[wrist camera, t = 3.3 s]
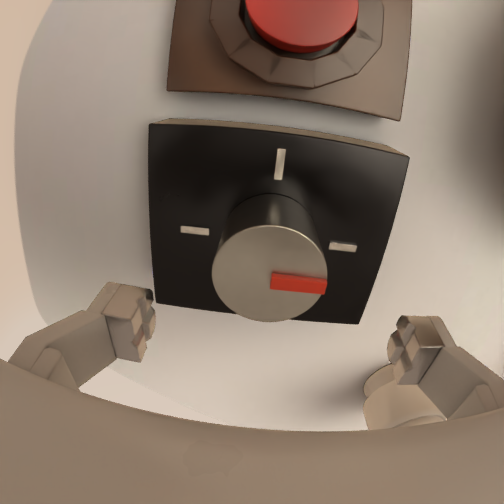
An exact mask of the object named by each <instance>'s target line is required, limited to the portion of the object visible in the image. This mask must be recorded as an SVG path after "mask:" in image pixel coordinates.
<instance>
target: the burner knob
mask: <svg viewBox="0 0 504 504" xmlns="http://www.w3.org/2000/svg"><path fill="white" fill-rule="evenodd" d="M212 280H213V285H214V287H215V290H216V292H217V294H218V296H219V297H220V299H221V300H222V301H223V302H224V303H225V305H226V306H228V307H229V308H230V309H231V310H232V311H234V312H236V313H237V314H239V315H241V316H243V317H246V318H248V319H252V320H256V321H262V322H278V321H284V320H288V319H291V318H294V317H296V316H298V315H300V314H302V313H304V312H305V311H307V310H308V309H309V308H311V307H312V306H313V305H314V304H315V303H316V302H317V300H318V299H319V297H320V296H321V294H323V295H324V294H325V290H326V287H327V265H326V261H325V258H324V255H323V251H322V248H321V245H320V241H319V238H318V235H317V232H316V228H315V225H314V222H313V220H312V218H311V216H310V215H309V213H308V212H307V211H306V209H305V208H304V207H303V206H301V205H300V204H299V203H297V202H296V201H294V200H292V199H290V198H288V197H285V196H282V195H276V194H264V195H258V196H255V197H252V198H249V199H247V200H245V201H244V202H242V203H241V204H239V205H238V206H237V207H236V208H235V209H234V210H233V211H232V212H231V214H230V216H229V217H228V219H227V221H226V224H225V227H224V230H223V233H222V236H221V239H220V242H219V246H218V249H217V252H216V255H215V258H214V261H213V265H212Z"/></svg>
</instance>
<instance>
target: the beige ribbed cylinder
mask: <svg viewBox="0 0 504 504" xmlns="http://www.w3.org/2000/svg"><path fill="white" fill-rule="evenodd" d="M394 366H395V365H394V364H390V365H388V366H385V367H383V368H381V369H380V370H378V371H376V372H375V373H374V374H373V375H371V376H370V377H369V379H368V380H367V381H366V382H365V385H364V390H363V391H364V393H365V395H366V396H367V397H368V398H367V400H366V401H365V403H364V405H363V413H364V416H365V419H366V423H367V426H368V429H369V430H376V429H388V428H398V427H407V426H415V425H422V424H429V423H435V422H441V421H446V417H445V416H444V415H443V414H442V413H441V411H440V410H439V409H438V408H437V407H436V406H435V405H434V404H433V402H432V401H431V400H430V399H429V398H428V397H427V396H426V395H425V393H424V392H423V391H422V390H421V389H420V388H419V387H418V386H417V385H418V384H417V385H397V383H396V380H395V376H394V373H393V368H394Z"/></svg>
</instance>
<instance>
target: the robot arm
mask: <svg viewBox="0 0 504 504" xmlns="http://www.w3.org/2000/svg"><path fill="white" fill-rule="evenodd" d="M153 300H154V299H153V292H152V290H151V289H147V288H141V287H136V286H130V285H125V284H119V283H114V282H108V283H106V284H105V286H104V287H103V288H102V290H101V291H100V292H99V294H98V295H97V297H96V298H95V299H94V301H93V302H92V303H91V305H90V306H89V307H88V309H87V310H86V311H84V310H81V311H79V312H77V313H75V314H73V315H71V316H69V317H67V318H65V319H62V320H60V321H58V322H56V323H54V324H52V325H50V326H48V327H46V328H44V329H42V330H39V331H37V332H36V333H33V334H31V335H29V336H27V337H26V338H25V339H24V340H23V342H22V343H21V344H20V346H19V347H18V348H17V350H16V351H15V352H14V354H13V355H12V356H11V358H10V359H9V361H8V362H6V361H4V360H2V359H0V504H504V380H503V379H502V378H500V377H499V376H498V375H497V374H495V373H494V372H493V371H491V370H490V369H489V368H488V367H486V366H485V365H484V364H482V363H481V362H480V361H478V360H477V359H476V358H474V357H473V356H472V355H471V354H469V353H468V352H467V351H465V350H464V349H463V348H461V347H457V346H456V344H455V342H454V340H453V339H452V337H451V335H450V333H449V331H448V330H447V328H446V326H445V324H444V323H443V321H442V319H441V318H440V317H438V316H404V315H402V316H401V317H400V318H399V320H398V322H397V324H396V326H397V329H398V330H396V331H395V332H394V333H393V334H391V336H390V339H389V341H388V346H387V354H388V358H389V361H390V362H391V363H393V364H394V365H395V366H394V368H393V373H394V376H395V380H396V383H397V385H417V384H418V385H417V386H418V387H419V388H420V389H421V390H422V391H423V392H424V393H425V395H426V396H427V397H428V398H429V399H430V400H431V401H432V402H433V404H434V405H435V406H436V407H437V408H438V409H439V410H440V411H441V413H442V414H443V415H444V416H445V417H446V418H447V421H441V422H435V423H429V424H422V425H415V426H407V427H398V428H388V429H376V430H360V431H325V432H321V431H284V430H268V429H256V428H246V427H236V426H228V425H220V424H213V423H207V422H200V421H194V420H188V419H183V418H178V417H173V416H168V415H163V414H158V413H154V412H149V411H145V410H141V409H137V408H133V407H129V406H126V405H122V404H118V403H115V402H111V401H108V400H104V399H101V398H98V397H95V396H91V395H88V394H85V393H82V392H80V390H79V387H80V386H81V385H82V384H84V383H85V382H87V381H88V380H89V379H91V378H92V377H93V376H95V375H96V374H97V373H98V372H100V371H101V370H103V369H104V368H105V367H107V366H108V365H109V364H111V363H112V362H113V361H115V360H116V358H120V359H125V360H130V361H135V362H140V363H141V360H142V358H143V356H144V353H145V351H146V349H147V345H146V341H147V340H149V339H151V337H152V335H153V332H154V328H155V322H156V315H155V310H154V309H153V308H152V307H151V304H152V302H153Z"/></svg>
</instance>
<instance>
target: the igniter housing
mask: <svg viewBox="0 0 504 504" xmlns="http://www.w3.org/2000/svg"><path fill="white" fill-rule="evenodd" d="M358 3H359V10H358V16H357V19H356V21H355V23H354V25H353V27H352V28H351V29H350V31H349V32H348V33H346V34H345V35H344V36H343V37H342V38H340V39H339V40H338V41H337V42H335V43H334V44H332V45H331V46H329V47H327V48H326V49H323V50H320V51H317V52H311V53H294V52H289V51H285V50H282V49H279V48H277V47H275V46H273V45H271V44H269V43H268V42H267V41H265V40H264V39H263V38H262V37H261V36H260V35H259V34H258V33H257V32H256V31H255V29H254V27H253V26H252V24H251V21H250V18H249V15H248V11H247V7H246V3H245V0H176V6H175V13H174V20H173V28H172V36H171V45H170V55H169V66H168V78H167V91H174V92H214V93H231V94H245V95H256V96H266V97H275V98H283V99H290V100H297V101H304V102H310V103H316V104H322V105H328V106H333V107H338V108H343V109H348V110H353V111H358V112H362V113H366V114H371V115H375V116H379V117H383V118H387V119H391V120H395V121H400V119H401V113H402V106H403V99H404V92H405V85H406V77H407V68H408V59H409V48H410V35H411V18H412V0H358Z"/></svg>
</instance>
